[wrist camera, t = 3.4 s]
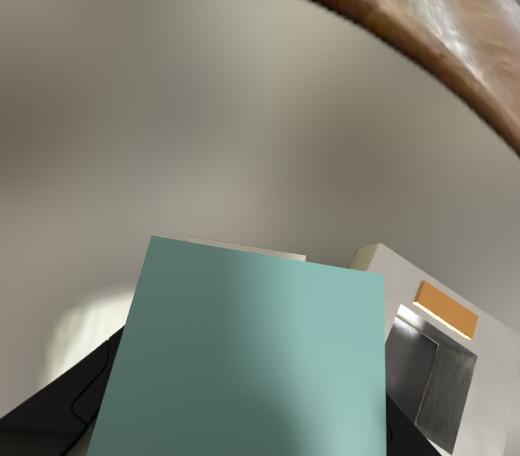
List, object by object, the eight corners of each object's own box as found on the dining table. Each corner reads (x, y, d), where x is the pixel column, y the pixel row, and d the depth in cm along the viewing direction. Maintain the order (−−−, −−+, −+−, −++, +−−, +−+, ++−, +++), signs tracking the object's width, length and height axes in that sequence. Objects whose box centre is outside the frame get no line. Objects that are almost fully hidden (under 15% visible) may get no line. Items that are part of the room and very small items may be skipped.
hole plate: (437, 500, 15) (487, 555, 12) (285, 392, 16) (298, 420, 13) (481, 330, 19) (528, 340, 16) (358, 247, 20) (381, 242, 17)
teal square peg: (268, 352, 14) (388, 599, 3) (194, 343, 13) (44, 594, 3) (277, 277, 15) (383, 274, 4) (210, 267, 15) (151, 236, 4)
